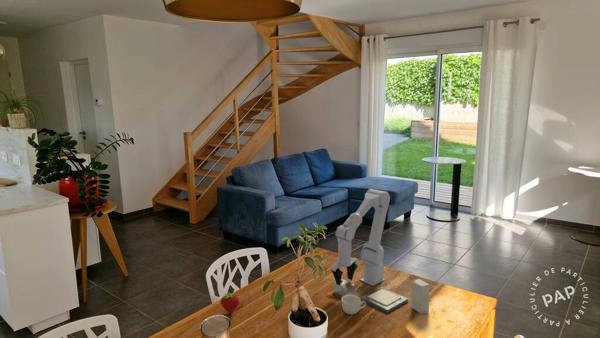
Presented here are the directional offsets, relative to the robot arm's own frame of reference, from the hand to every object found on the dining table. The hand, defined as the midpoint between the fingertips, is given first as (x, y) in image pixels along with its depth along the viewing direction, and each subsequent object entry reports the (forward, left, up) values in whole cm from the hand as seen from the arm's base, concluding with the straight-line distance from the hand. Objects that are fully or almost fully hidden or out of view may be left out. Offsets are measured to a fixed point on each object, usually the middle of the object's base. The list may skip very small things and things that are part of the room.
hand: (344, 281), depth 172 cm
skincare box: (-13, +30, -6) cm, 33 cm away
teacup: (+8, +13, -6) cm, 16 cm away
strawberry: (+47, -19, -6) cm, 51 cm away
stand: (-8, +16, -6) cm, 19 cm away
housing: (0, 0, -6) cm, 6 cm away
